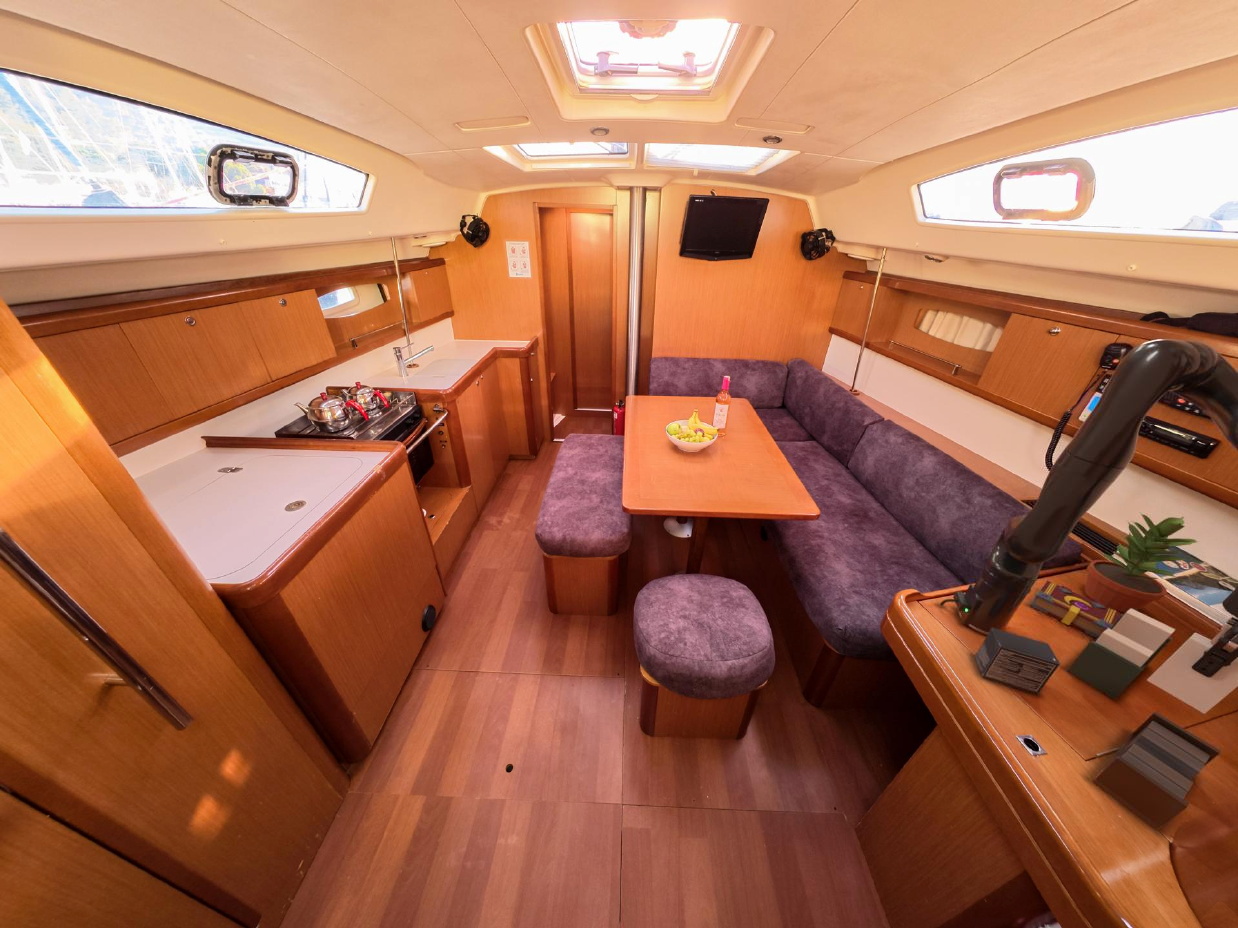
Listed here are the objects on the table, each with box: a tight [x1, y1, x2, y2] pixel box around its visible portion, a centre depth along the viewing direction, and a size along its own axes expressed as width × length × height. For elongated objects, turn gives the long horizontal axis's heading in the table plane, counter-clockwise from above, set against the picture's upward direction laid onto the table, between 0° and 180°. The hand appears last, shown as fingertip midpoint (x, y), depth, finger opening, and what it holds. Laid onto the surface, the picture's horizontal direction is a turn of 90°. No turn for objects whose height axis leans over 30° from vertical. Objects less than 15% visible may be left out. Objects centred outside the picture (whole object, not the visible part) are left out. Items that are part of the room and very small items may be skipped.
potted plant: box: [1084, 513, 1198, 614], centre depth 111 cm, size 15×15×30 cm
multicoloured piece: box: [1066, 608, 1176, 700], centre depth 94 cm, size 20×8×13 cm, turn 116°
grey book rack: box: [1092, 711, 1222, 831], centre depth 74 cm, size 20×8×8 cm, turn 116°
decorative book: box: [1029, 580, 1122, 640], centre depth 110 cm, size 11×16×5 cm
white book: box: [1146, 632, 1238, 715], centre depth 72 cm, size 3×7×12 cm, turn 25°
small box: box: [973, 628, 1061, 696], centre depth 92 cm, size 11×6×10 cm, turn 65°
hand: (1204, 668), depth 71 cm, fingers closed on white book, 3 cm apart
